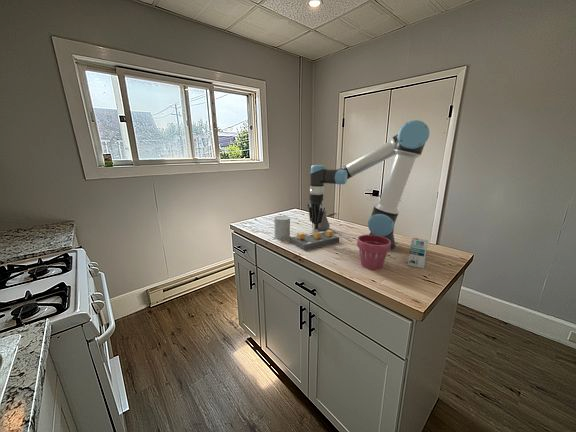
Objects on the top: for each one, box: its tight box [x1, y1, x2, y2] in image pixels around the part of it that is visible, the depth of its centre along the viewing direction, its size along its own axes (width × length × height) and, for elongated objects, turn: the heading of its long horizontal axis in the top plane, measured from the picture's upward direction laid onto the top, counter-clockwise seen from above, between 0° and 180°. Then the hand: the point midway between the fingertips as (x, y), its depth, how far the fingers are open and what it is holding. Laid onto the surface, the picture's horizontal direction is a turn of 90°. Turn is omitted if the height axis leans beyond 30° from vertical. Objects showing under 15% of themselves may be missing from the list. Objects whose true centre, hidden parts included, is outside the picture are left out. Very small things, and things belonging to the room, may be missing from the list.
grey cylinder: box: [273, 215, 291, 241], centre depth 143 cm, size 10×10×12 cm
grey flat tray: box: [289, 230, 340, 251], centre depth 137 cm, size 14×25×3 cm, turn 122°
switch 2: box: [313, 231, 321, 239], centre depth 134 cm, size 3×3×3 cm
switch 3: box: [325, 229, 334, 237], centre depth 138 cm, size 3×3×3 cm
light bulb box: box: [407, 237, 429, 269], centre depth 111 cm, size 11×7×11 cm, turn 148°
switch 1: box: [296, 231, 306, 239], centre depth 133 cm, size 3×3×3 cm
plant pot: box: [356, 234, 391, 271], centre depth 107 cm, size 14×14×13 cm
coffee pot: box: [318, 210, 339, 232], centre depth 154 cm, size 21×12×15 cm, turn 26°
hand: (314, 234), depth 136 cm, fingers closed
